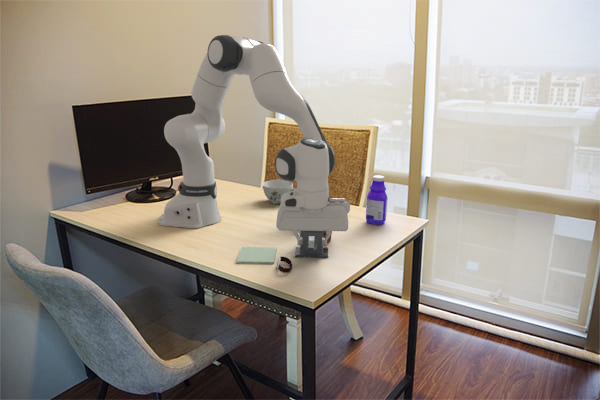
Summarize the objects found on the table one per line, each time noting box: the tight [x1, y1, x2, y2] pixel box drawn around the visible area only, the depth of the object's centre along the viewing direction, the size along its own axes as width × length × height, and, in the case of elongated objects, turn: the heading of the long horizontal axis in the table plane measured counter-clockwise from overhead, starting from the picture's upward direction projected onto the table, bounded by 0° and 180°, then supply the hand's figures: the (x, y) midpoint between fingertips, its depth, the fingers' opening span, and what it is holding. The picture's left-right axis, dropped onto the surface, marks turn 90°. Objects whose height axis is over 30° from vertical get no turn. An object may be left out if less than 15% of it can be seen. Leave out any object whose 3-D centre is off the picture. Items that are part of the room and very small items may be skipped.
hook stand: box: [294, 231, 329, 259], centre depth 142 cm, size 10×15×10 cm, turn 178°
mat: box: [235, 246, 278, 265], centre depth 146 cm, size 11×11×1 cm
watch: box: [275, 255, 293, 274], centre depth 137 cm, size 8×5×4 cm, turn 3°
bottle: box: [365, 174, 388, 226], centre depth 172 cm, size 7×6×17 cm
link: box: [302, 231, 322, 253], centre depth 136 cm, size 6×2×6 cm, turn 88°
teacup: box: [262, 179, 297, 205], centre depth 196 cm, size 15×12×8 cm
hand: (312, 244), depth 136 cm, fingers closed on link, 5 cm apart
